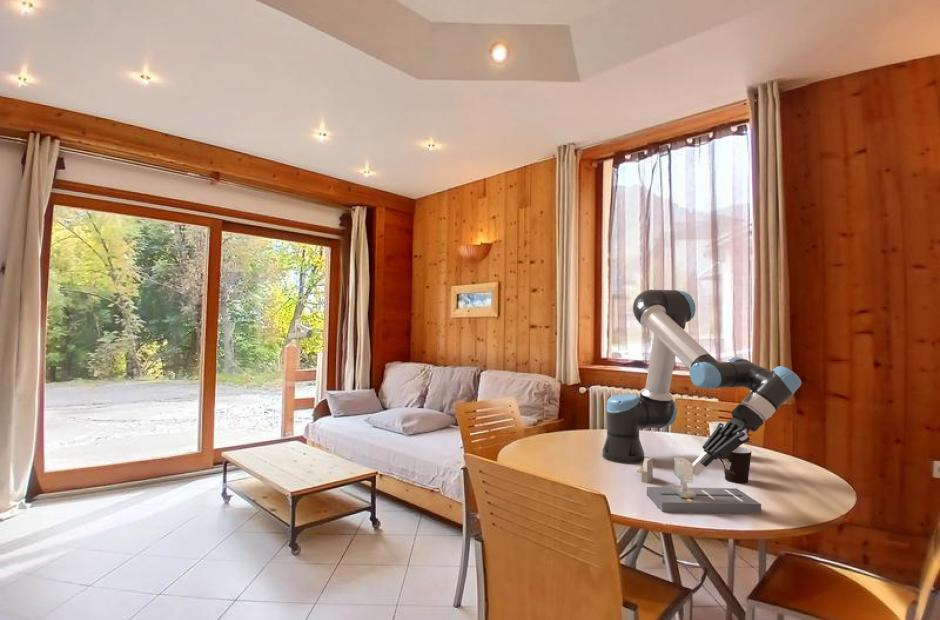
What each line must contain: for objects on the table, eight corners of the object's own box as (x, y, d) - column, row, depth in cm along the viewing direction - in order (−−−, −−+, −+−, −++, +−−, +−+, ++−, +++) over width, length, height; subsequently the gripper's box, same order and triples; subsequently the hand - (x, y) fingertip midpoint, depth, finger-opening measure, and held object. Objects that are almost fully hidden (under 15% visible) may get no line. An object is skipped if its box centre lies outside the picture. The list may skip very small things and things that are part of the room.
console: (662, 511, 124) (662, 501, 124) (646, 495, 136) (646, 486, 136) (761, 513, 123) (761, 503, 123) (736, 497, 135) (736, 488, 135)
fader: (681, 497, 126) (680, 463, 127) (672, 489, 133) (671, 457, 133) (696, 498, 126) (695, 464, 126) (686, 489, 132) (685, 457, 133)
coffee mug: (756, 485, 144) (756, 453, 144) (726, 483, 146) (726, 452, 146) (742, 474, 156) (742, 444, 156) (714, 472, 157) (714, 443, 158)
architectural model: (636, 482, 148) (636, 459, 149) (643, 476, 154) (643, 454, 154) (647, 484, 146) (647, 461, 147) (653, 479, 152) (653, 456, 152)
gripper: (776, 427, 123) (714, 489, 123) (748, 417, 136) (692, 474, 136) (755, 407, 123) (693, 469, 123) (730, 399, 136) (673, 455, 136)
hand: (692, 471), depth 129 cm, fingers closed
